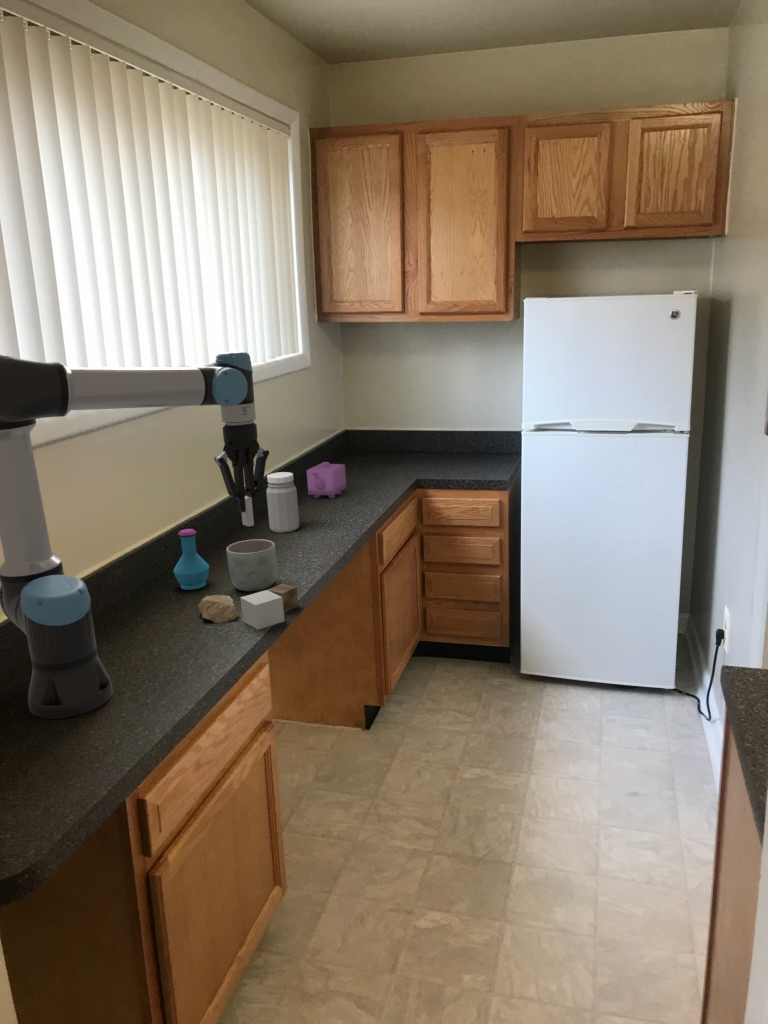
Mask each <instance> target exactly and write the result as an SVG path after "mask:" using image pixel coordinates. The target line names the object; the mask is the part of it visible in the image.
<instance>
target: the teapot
mask: <svg viewBox="0 0 768 1024" xmlns="http://www.w3.org/2000/svg"><path fill="white" fill-rule="evenodd" d="M306 479H307V482H306V483H307V491H308V494H307V495H309V496H313V498H314V499H317V498H318V499H319V498H321V497H322V496H328V499H336V495H337V496H338V495H339V496H340V495H342V494H343V493H342V492H343V491H345V489H347V480H346V479H347V477H346V465H345V463H344V464H342V463H330V462H328V461H324V462H321V463H318V464H317V465H315V466H313V467H311V468H309V469H306Z"/></svg>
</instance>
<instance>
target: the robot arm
mask: <svg viewBox="0 0 768 1024" xmlns="http://www.w3.org/2000/svg"><path fill="white" fill-rule="evenodd" d="M253 373H254V371H253V366H252V361H251V356H250V354H249V353H248V352H246V351H227V352H226V351H225V352H218V353H217V354H216V356H215V362H212V363H211V362H210V363H204V364H203V363H202V364H201V363H199V364H190V365H189V364H188V365H182V364H181V365H179V366H173V367H67V366H66V365H65V364H64V363H63V362H60V361H59V362H58V361H56V362H53V361H52V362H51V361H39V360H38V361H37V360H31V359H26V358H20V357H15V356H11V355H2V354H0V543H1V548H2V553H3V558H4V561H3V563H2V564H1V565H0V608H1V610H2V612H3V613H4V615H5V616H6V617H7V619H8V620H9V621H10V622H12V624H14V625H15V626H16V627H17V628H18V629H20V630H21V631H22V632H23V633H24V634H25V635H26V639H27V645H28V651H29V655H30V661H31V666H32V668H31V669H32V671H31V672H32V673H31V678H30V683H29V687H28V688H29V689H28V695H27V704H28V709H29V712H30V714H31V715H33V716H35V717H37V718H41V719H46V720H47V719H48V720H50V719H51V720H52V719H53V720H58V719H67V718H72V717H77V716H80V715H85V714H87V713H90V712H93V711H94V710H96V709H98V708H100V707H102V706H104V705H105V704H106V703H108V701H110V700H111V698H112V697H113V695H114V689H113V683H112V678H111V677H110V675H109V674H108V672H107V670H106V668H105V666H104V664H103V662H102V661H101V659H100V657H99V655H98V647H97V641H96V634H95V627H94V620H93V614H92V608H91V607H92V606H91V602H92V600H91V596H90V593H89V591H88V587H87V585H86V582H84V581H83V580H82V579H81V578H78V577H76V576H74V575H65V573H64V571H65V570H64V567H63V561H62V558H61V557H60V556H58V555H57V554H55V553H53V551H52V547H51V542H50V537H49V536H50V535H49V529H48V526H47V520H46V515H45V509H44V505H43V504H44V503H43V498H42V494H41V493H42V492H41V488H40V483H39V478H38V470H37V466H36V460H35V456H34V455H35V454H34V450H33V445H32V440H31V432H32V431H33V429H34V428H35V427H36V425H37V419H38V420H39V419H45V418H54V417H55V418H58V417H62V418H63V417H66V416H67V415H68V414H69V413H70V412H71V411H88V410H89V411H90V410H93V411H94V410H112V409H113V410H114V409H115V410H117V409H118V410H120V409H140V408H164V407H190V406H200V407H201V406H220V415H221V422H222V423H223V424H222V426H221V427H222V436H223V442H224V445H223V448H222V452H221V453H220V454H219V455H218V456H214V458H213V459H214V461H215V463H216V464H217V465H218V466H219V471H220V472H221V476H222V479H223V482H224V485H225V488H226V492H227V494H228V495H229V496H230V497H234V498H236V504H237V510H238V512H239V513H241V522H242V525H243V526H246V527H253V526H255V521H254V512H253V511H255V510H256V506H257V505H256V497H257V496H258V494H259V493H262V491H263V487H264V479H265V470H266V463H267V460H268V457H269V455H270V450H268V449H264V448H263V447H261V446H260V444H259V442H258V441H259V440H258V428H257V423H256V421H255V420H256V418H257V417H256V404H255V394H254V393H255V391H254V380H253V379H254V377H253ZM254 459H255V461H254ZM229 461H230V463H231V467H232V469H233V473H232V471H231V469H230V466H229V465H230V464H228V462H229ZM232 474H233V475H232Z"/></svg>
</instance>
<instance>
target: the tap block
mask: <svg viewBox="0 0 768 1024" xmlns="http://www.w3.org/2000/svg"><path fill="white" fill-rule="evenodd" d="M239 600H240V607H241V616H242V617H241V618H242V622H243V623H245V624H247V625H249V626H250V627H252V628H254V629H256V630H262V629H264V628H268V627H271V626H274V625H277V624H280V623H284V622H285V613H284V611H283V600H282V597H281V596H279V595H277V594H274V593H272V592H270V591H268V589H264V590H260V591H257V592H255V593H251V594H249V595H244V596H241V597H240V599H239Z"/></svg>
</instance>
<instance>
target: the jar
mask: <svg viewBox="0 0 768 1024" xmlns="http://www.w3.org/2000/svg"><path fill="white" fill-rule="evenodd" d="M266 477H267V478H266V479H267V483H268V484H267V488H266V491H265V492H266V503H267V512H268V523H269V529H270V530H271V531H272V532H273V533H278V534H279V533H280V534H285V532H287V533H291V531H292V532H295V531H297V530H298V528H299V527H300V517H299V505H298V502H299V501H298V493H297V487H296V485H295V482H294V473H293V472H289V471H287V472H286V471H281V472H280V471H279V472H273V473H270V474H269V473H268V474H267V476H266ZM296 529H297V530H296ZM294 530H295V531H294Z"/></svg>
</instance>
